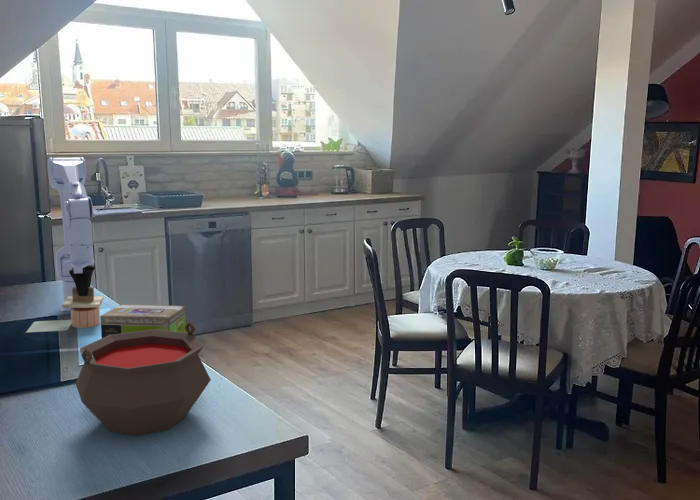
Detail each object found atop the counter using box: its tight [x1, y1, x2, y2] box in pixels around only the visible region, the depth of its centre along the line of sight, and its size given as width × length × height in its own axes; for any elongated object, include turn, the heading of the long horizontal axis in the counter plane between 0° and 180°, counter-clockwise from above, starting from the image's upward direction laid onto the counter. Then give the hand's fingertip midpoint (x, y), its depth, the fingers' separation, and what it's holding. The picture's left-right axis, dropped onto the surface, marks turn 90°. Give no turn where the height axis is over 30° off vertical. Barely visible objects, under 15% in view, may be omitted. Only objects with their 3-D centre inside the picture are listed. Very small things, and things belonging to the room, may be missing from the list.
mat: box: [25, 319, 72, 334], centre depth 175 cm, size 10×10×1 cm
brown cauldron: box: [75, 320, 212, 437], centre depth 120 cm, size 24×24×16 cm
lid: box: [61, 285, 104, 309], centre depth 176 cm, size 9×9×4 cm
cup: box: [70, 307, 101, 329], centre depth 177 cm, size 7×7×5 cm
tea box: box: [100, 304, 187, 339], centre depth 141 cm, size 15×10×15 cm
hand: (84, 294), depth 176 cm, fingers closed on lid, 2 cm apart
